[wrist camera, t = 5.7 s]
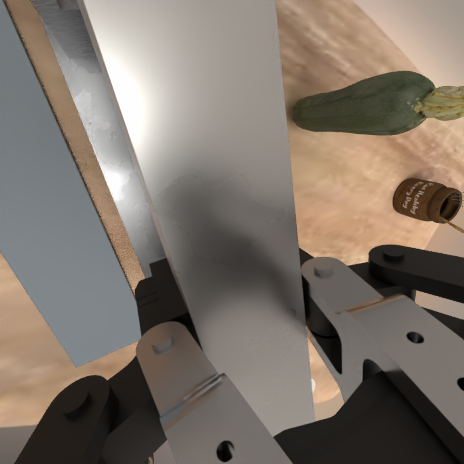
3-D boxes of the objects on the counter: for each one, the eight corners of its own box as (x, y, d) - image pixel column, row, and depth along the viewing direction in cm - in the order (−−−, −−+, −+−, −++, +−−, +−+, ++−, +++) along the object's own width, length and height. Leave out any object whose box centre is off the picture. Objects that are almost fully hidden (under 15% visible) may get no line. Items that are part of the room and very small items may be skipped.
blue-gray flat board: (-197, -59, 17) (-207, -65, 16) (-25, -65, 19) (-29, -70, 18) (76, 363, 33) (76, 367, 33) (150, 332, 35) (150, 335, 35)
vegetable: (281, 137, 33) (466, 153, 16) (270, 100, 31) (468, 73, 14) (311, 120, 34) (518, 118, 17) (301, 83, 32) (527, 37, 14)
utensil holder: (423, 183, 46) (514, 201, 35) (405, 218, 47) (488, 245, 37) (403, 172, 43) (495, 188, 33) (385, 209, 44) (467, 236, 34)
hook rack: (22, -29, 20) (-119, -269, 8) (130, -37, 23) (153, -234, 10) (160, 314, 35) (187, 419, 23) (218, 290, 37) (271, 374, 25)
